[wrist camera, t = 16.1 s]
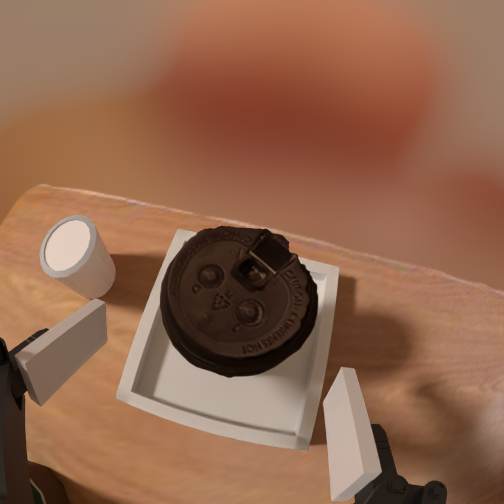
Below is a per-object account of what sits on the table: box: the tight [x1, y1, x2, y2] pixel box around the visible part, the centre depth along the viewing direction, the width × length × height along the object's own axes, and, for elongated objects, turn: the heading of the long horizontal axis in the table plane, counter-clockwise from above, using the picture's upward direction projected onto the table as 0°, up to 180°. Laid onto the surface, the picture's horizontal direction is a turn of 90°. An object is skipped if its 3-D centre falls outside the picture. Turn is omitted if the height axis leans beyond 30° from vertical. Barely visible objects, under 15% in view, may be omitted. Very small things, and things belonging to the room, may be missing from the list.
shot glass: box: [40, 215, 116, 299], centre depth 24 cm, size 7×7×7 cm
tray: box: [116, 228, 339, 451], centre depth 24 cm, size 17×18×2 cm
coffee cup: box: [160, 226, 319, 378], centre depth 18 cm, size 9×8×13 cm
